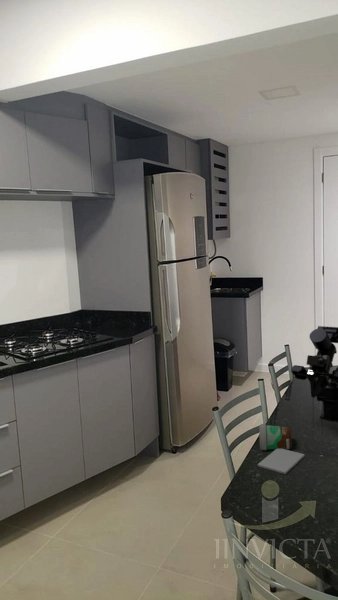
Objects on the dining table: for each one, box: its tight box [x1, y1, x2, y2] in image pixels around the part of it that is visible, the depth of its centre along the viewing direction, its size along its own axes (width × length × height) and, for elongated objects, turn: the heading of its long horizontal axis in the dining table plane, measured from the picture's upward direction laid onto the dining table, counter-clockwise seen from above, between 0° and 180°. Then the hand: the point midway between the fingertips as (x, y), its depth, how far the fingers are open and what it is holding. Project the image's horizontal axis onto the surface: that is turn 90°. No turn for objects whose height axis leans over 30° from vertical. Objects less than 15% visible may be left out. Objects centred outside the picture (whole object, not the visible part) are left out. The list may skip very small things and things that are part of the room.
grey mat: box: [257, 448, 305, 475], centre depth 143 cm, size 13×9×1 cm
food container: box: [258, 423, 293, 451], centre depth 155 cm, size 12×6×10 cm
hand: (312, 397), depth 159 cm, fingers closed
